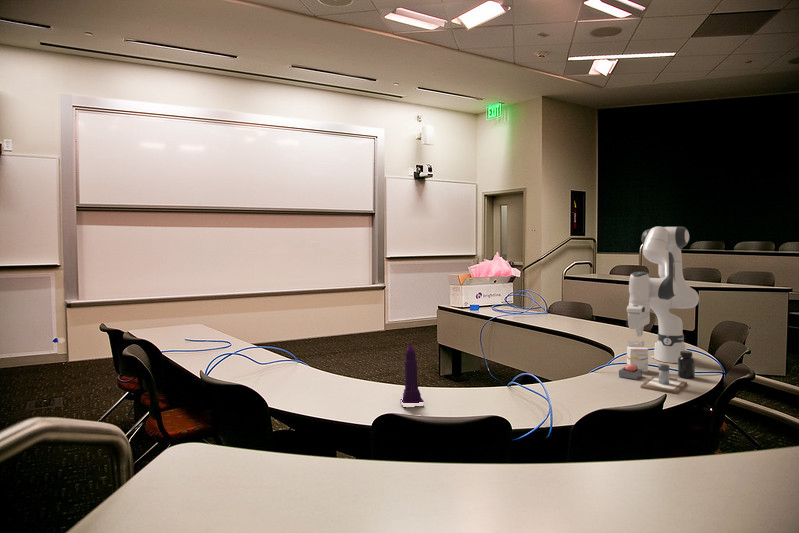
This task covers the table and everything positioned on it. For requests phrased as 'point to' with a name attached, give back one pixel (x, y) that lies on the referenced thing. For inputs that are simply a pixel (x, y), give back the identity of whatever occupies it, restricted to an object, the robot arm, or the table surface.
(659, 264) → the robot arm
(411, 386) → the building model
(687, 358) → the supplement bottle
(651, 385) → the picture frame
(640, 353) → the ink cartridge box
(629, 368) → the button
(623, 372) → the button housing
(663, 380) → the grey lidded jar
